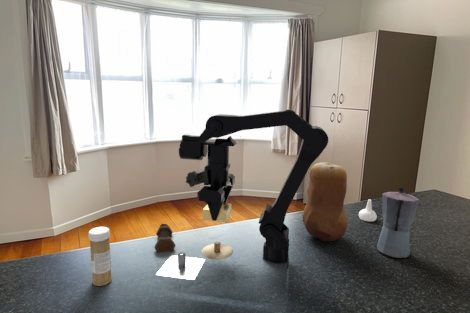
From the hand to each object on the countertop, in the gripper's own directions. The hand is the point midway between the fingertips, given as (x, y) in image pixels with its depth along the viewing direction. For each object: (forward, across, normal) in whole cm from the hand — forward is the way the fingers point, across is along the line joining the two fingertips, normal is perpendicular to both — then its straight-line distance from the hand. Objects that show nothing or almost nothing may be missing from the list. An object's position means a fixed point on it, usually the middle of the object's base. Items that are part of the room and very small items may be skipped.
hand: (217, 215), depth 87 cm
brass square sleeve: (0, 0, 0) cm, 0 cm away
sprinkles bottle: (+12, +19, -24) cm, 33 cm away
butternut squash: (+12, -18, +31) cm, 38 cm away
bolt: (+12, -3, -17) cm, 22 cm away
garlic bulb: (+12, -39, +49) cm, 64 cm away
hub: (+12, +10, -7) cm, 17 cm away
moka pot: (+12, -13, +51) cm, 54 cm away
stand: (+12, 0, 0) cm, 12 cm away
